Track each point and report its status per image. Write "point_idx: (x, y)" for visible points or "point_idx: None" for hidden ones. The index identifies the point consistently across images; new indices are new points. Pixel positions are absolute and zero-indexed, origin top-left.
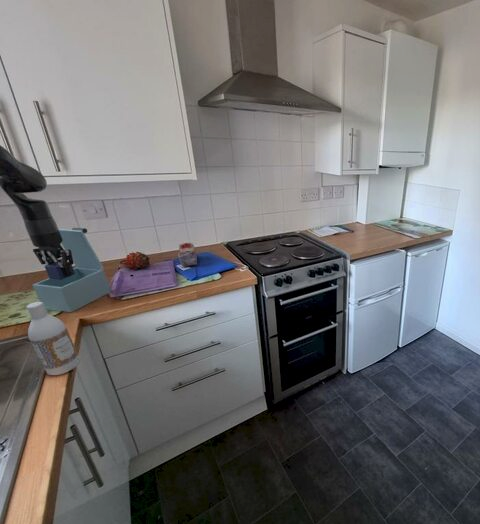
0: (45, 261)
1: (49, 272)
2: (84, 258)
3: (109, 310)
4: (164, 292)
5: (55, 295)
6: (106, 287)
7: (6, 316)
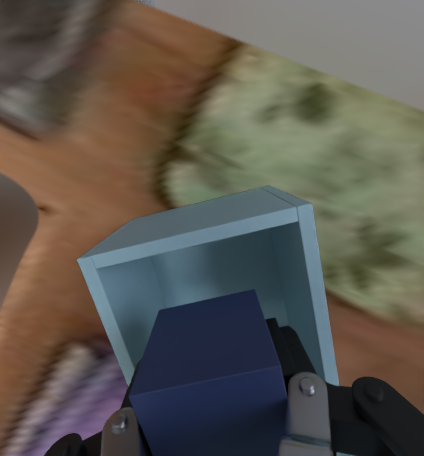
0: (321, 432)
1: (238, 326)
2: None
3: (26, 285)
4: (6, 424)
5: (158, 226)
6: None
7: (340, 82)
